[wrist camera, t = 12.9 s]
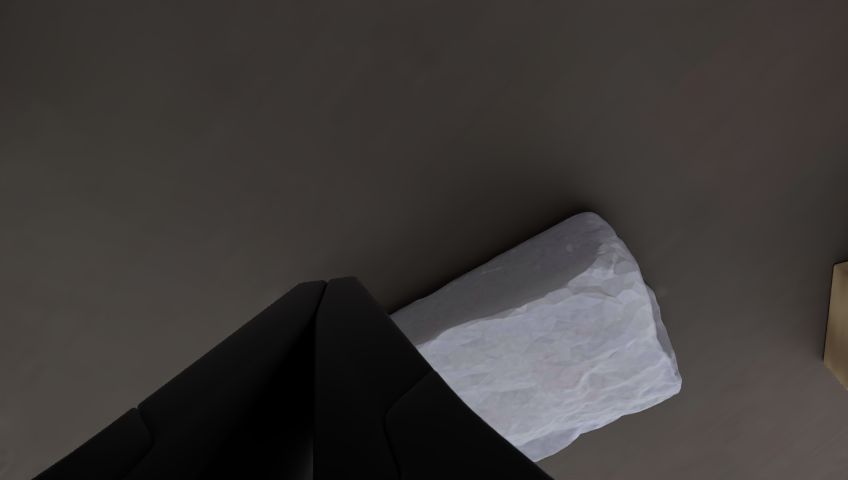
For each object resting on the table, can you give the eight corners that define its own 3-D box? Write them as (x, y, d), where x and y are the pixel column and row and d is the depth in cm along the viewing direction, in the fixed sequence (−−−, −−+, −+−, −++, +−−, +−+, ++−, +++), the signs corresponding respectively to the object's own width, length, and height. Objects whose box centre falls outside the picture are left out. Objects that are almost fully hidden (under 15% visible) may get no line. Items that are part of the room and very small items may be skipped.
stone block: (665, 314, 29) (593, 181, 23) (715, 403, 26) (646, 276, 20) (448, 413, 33) (332, 320, 26) (467, 504, 29) (338, 423, 23)
